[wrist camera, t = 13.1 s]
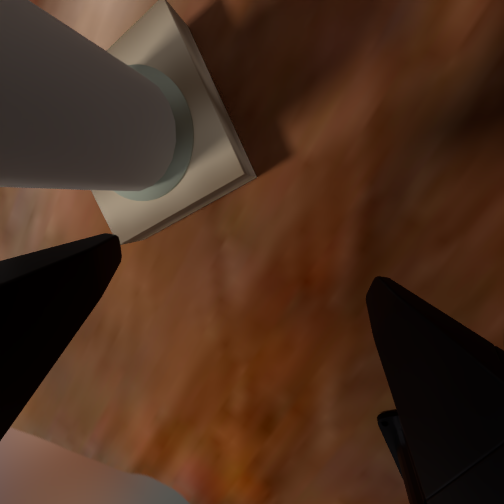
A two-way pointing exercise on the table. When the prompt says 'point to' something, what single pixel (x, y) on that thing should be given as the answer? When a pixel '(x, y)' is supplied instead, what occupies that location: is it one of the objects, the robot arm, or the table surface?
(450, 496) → the robot arm
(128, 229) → the pedestal
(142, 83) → the can
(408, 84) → the table surface
